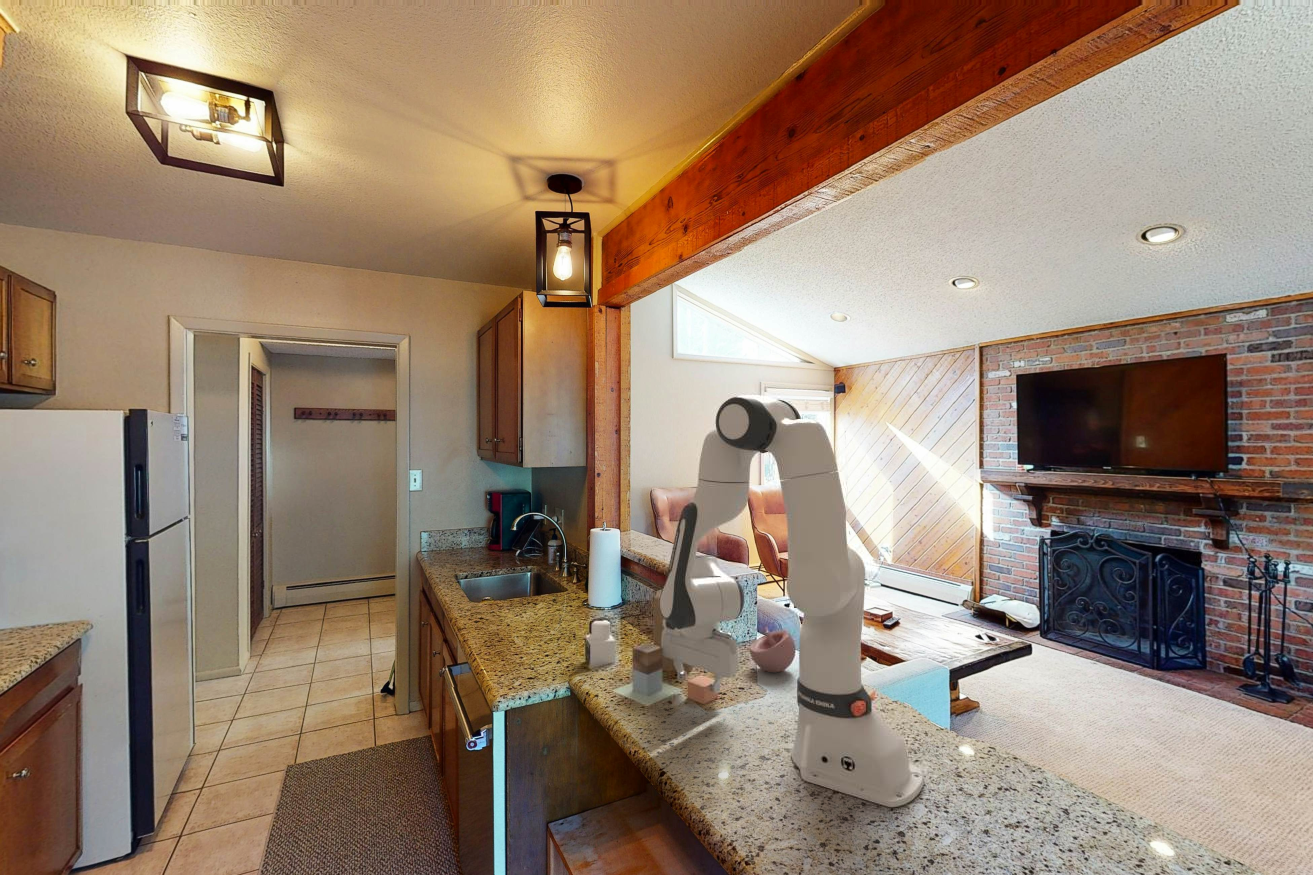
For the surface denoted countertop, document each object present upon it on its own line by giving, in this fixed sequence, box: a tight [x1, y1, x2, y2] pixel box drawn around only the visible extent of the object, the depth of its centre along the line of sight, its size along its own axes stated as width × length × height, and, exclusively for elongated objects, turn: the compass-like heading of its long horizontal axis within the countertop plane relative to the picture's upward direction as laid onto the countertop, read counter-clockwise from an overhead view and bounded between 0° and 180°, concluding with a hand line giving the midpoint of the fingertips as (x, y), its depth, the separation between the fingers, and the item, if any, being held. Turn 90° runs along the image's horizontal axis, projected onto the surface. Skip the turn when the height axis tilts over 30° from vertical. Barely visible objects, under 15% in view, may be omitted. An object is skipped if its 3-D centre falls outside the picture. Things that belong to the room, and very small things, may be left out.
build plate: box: [611, 681, 683, 707], centre depth 132 cm, size 12×12×1 cm
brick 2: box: [632, 668, 663, 697], centre depth 132 cm, size 5×5×5 cm
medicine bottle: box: [584, 617, 616, 670], centre depth 153 cm, size 7×7×12 cm
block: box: [652, 589, 693, 673], centre depth 149 cm, size 10×10×20 cm
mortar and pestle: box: [748, 626, 796, 673], centre depth 148 cm, size 12×12×12 cm
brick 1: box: [632, 642, 662, 675], centre depth 132 cm, size 5×5×5 cm
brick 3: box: [686, 675, 719, 705], centre depth 128 cm, size 5×5×5 cm
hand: (697, 685), depth 128 cm, fingers open, 8 cm apart
